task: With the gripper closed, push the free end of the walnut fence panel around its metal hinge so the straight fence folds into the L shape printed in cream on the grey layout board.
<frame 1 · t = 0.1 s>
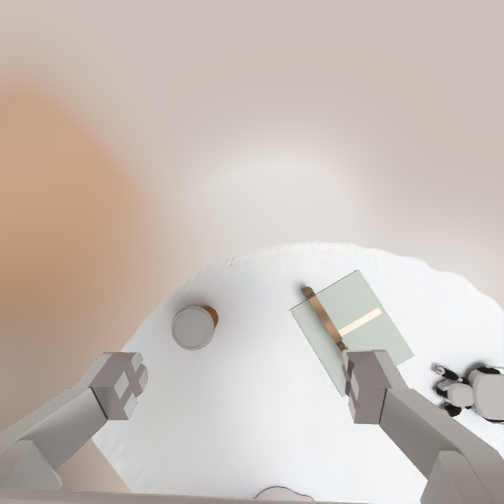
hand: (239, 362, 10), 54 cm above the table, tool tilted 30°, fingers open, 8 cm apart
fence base: (334, 336, 61), resting on layout card
disposable coffee cup: (206, 318, 65), on the table
robot toy: (464, 387, 58), on the table
layout card: (350, 331, 61), on the table
hinged fence panel: (320, 313, 58), point 4 cm above the table, hinge at 0.0°
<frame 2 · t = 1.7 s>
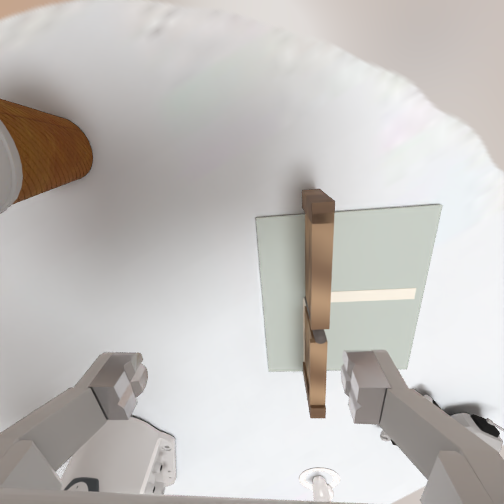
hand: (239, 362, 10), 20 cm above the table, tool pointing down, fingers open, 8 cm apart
teacup and saucer: (307, 480, 50), on the table
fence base: (309, 297, 32), resting on layout card
disposable coffee cup: (65, 149, 27), on the table
robot toy: (430, 417, 41), on the table
layout card: (339, 301, 32), on the table
hinged fence panel: (315, 258, 25), point 4 cm above the table, hinge at 0.0°
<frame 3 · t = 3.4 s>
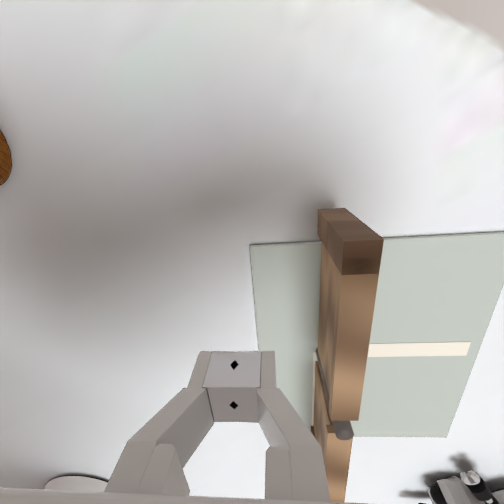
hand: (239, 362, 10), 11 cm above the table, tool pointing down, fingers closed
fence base: (322, 350, 23), resting on layout card
robot toy: (469, 487, 32), on the table
layout card: (362, 354, 24), on the table
hinged fence panel: (337, 312, 17), point 4 cm above the table, hinge at 0.0°
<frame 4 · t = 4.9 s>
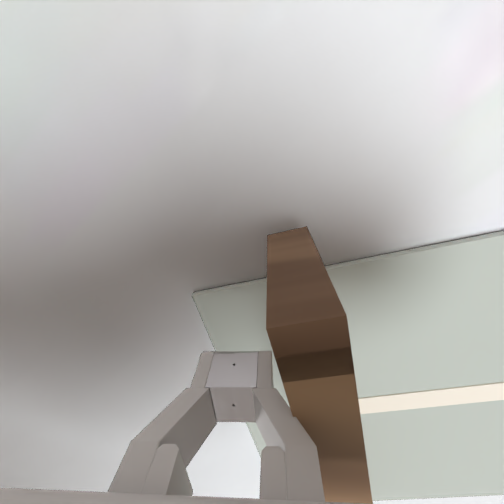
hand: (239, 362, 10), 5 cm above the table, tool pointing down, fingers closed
layout card: (384, 406, 17), on the table
hinged fence panel: (321, 389, 11), point 4 cm above the table, hinge at 0.1°, touching gripper
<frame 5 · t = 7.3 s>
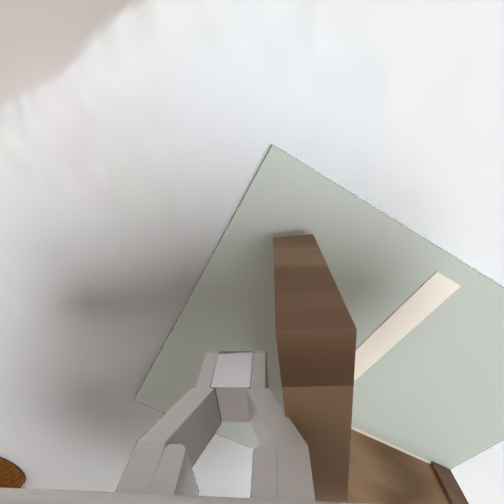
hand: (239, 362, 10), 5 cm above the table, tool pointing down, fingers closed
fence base: (303, 412, 18), resting on layout card
layout card: (348, 381, 17), on the table
hinged fence panel: (307, 395, 11), point 4 cm above the table, hinge at 53.7°, touching gripper
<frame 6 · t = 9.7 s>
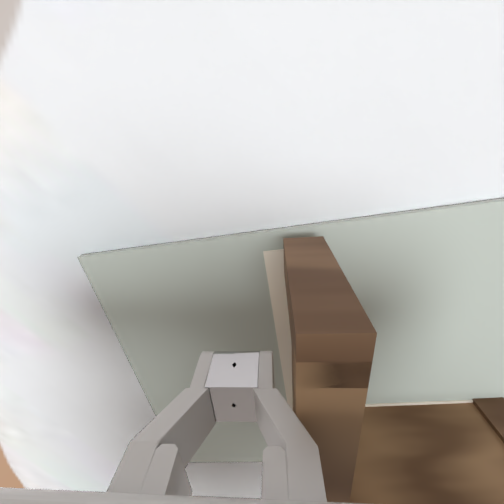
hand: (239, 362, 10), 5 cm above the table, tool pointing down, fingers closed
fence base: (300, 413, 18), resting on layout card
layout card: (309, 368, 16), on the table
hinged fence panel: (310, 396, 11), point 4 cm above the table, hinge at 94.9°, touching gripper
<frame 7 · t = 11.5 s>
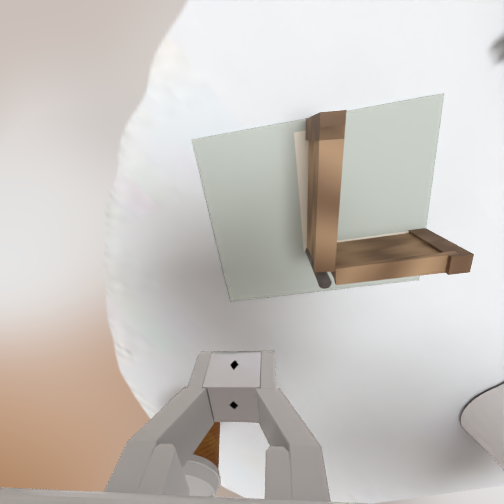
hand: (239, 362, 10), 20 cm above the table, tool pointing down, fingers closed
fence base: (310, 250, 29), resting on layout card
disposable coffee cup: (202, 399, 42), on the table
layout card: (316, 216, 28), on the table
hinged fence panel: (320, 194, 23), point 4 cm above the table, hinge at 94.9°
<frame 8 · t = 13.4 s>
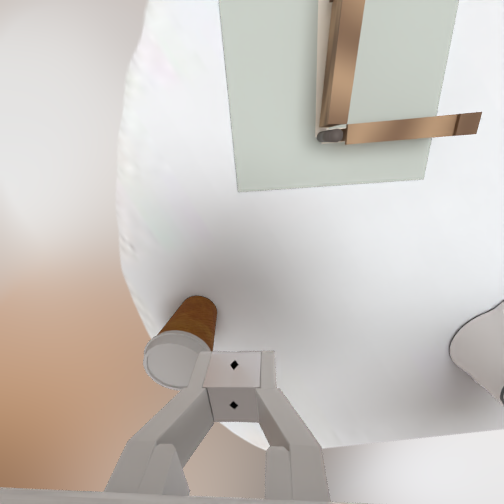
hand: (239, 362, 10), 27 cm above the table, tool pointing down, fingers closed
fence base: (321, 136, 30), resting on layout card
disposable coffee cup: (199, 309, 43), on the table
layout card: (330, 98, 29), on the table
hinged fence panel: (339, 50, 24), point 4 cm above the table, hinge at 94.9°
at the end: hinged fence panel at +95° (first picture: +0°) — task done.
